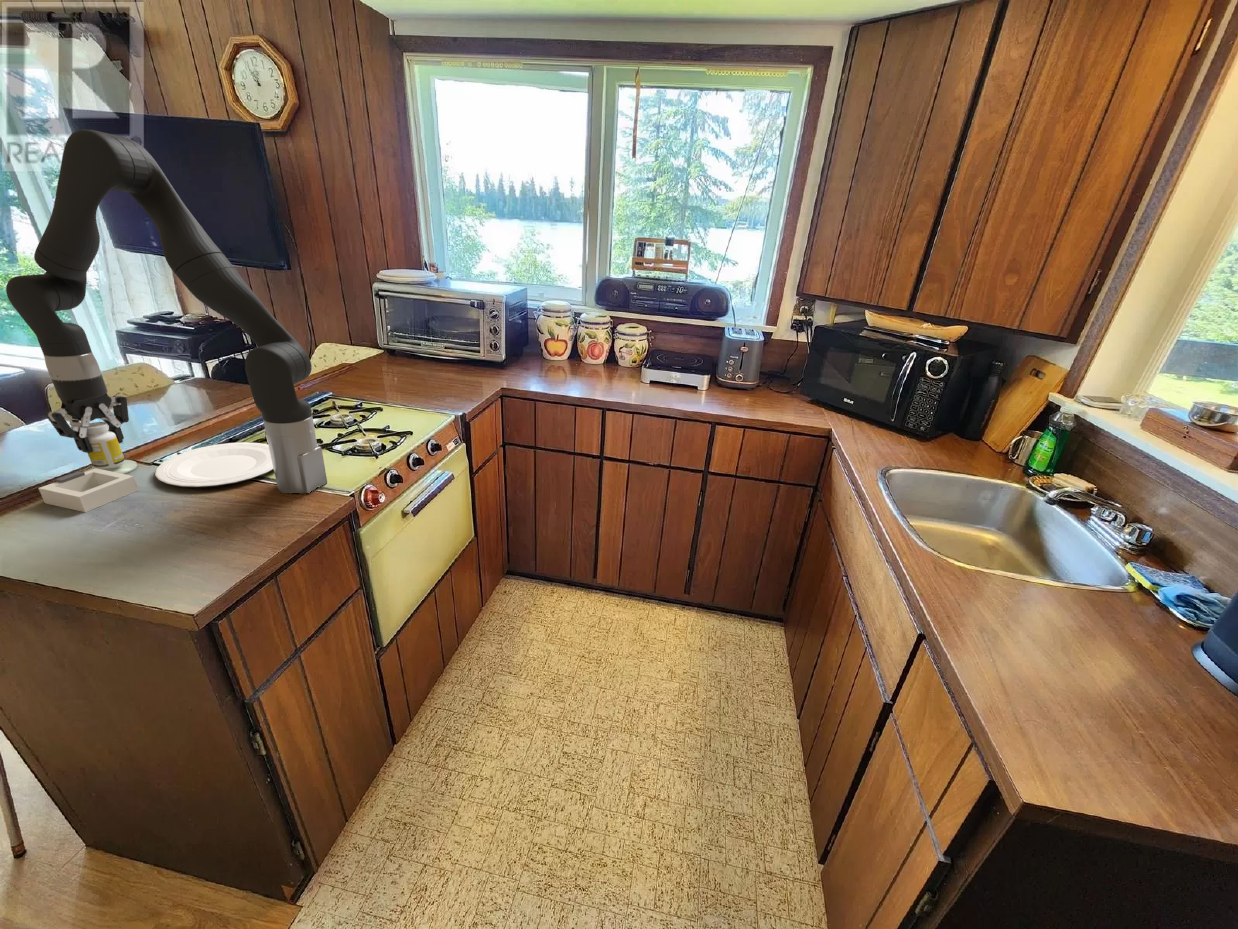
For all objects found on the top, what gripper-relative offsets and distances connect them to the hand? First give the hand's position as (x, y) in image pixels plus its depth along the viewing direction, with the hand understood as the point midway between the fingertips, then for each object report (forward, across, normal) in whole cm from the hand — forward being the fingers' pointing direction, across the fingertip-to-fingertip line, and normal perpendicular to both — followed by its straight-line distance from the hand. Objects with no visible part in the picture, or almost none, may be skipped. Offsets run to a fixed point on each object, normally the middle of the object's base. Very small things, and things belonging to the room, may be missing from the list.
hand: (103, 446), depth 112 cm
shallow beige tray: (+6, -10, -9) cm, 15 cm away
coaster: (+6, 0, 0) cm, 6 cm away
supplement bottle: (+5, 0, 0) cm, 5 cm away
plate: (+7, +10, -20) cm, 23 cm away
